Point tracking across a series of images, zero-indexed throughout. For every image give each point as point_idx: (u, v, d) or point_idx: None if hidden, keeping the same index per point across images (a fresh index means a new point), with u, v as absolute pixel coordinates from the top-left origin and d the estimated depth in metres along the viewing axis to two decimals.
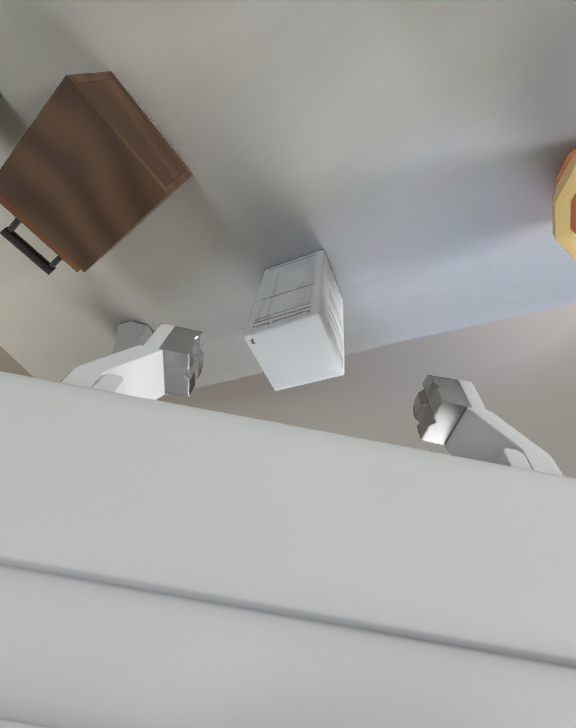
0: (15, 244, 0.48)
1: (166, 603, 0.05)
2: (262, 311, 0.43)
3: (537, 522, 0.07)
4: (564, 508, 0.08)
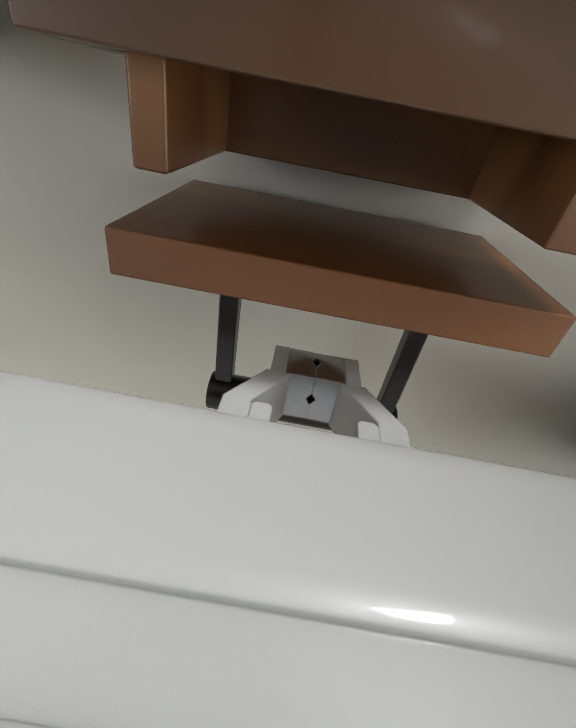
0: None
1: (165, 604, 0.05)
2: None
3: (537, 522, 0.07)
4: (564, 508, 0.08)
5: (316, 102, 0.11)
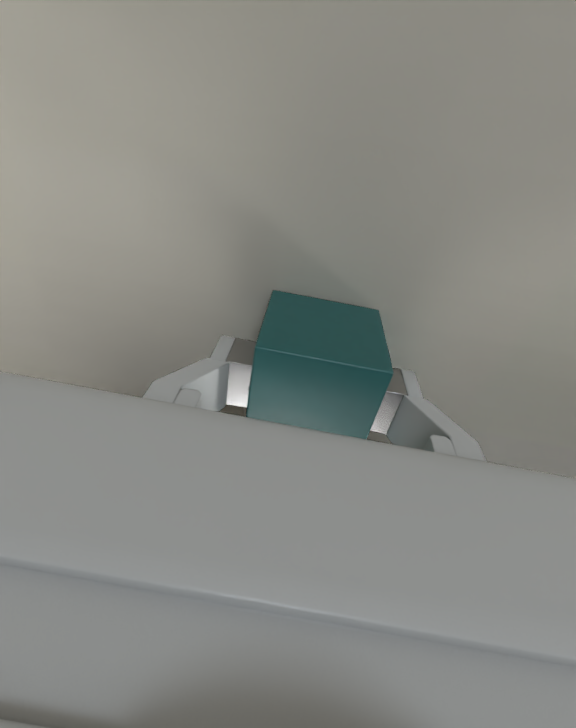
0: None
1: (166, 603, 0.05)
2: None
3: (537, 522, 0.07)
4: (564, 508, 0.08)
5: None
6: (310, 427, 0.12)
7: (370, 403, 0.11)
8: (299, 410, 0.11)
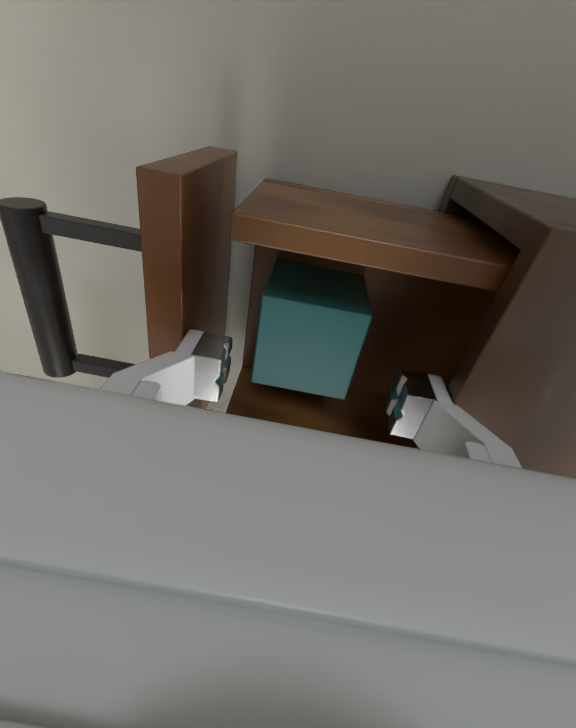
0: (22, 266, 0.13)
1: (166, 603, 0.05)
2: None
3: (537, 522, 0.07)
4: (564, 508, 0.08)
5: None
6: (306, 366, 0.14)
7: (354, 343, 0.14)
8: (297, 351, 0.14)
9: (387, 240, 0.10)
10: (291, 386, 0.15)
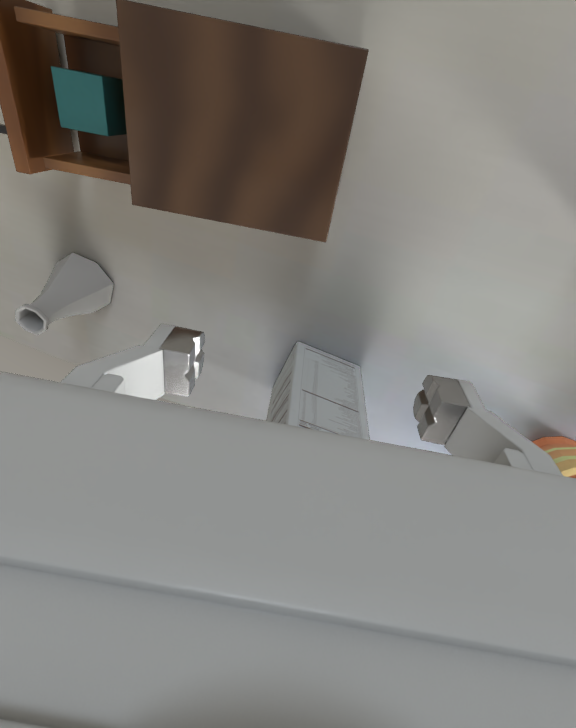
0: None
1: (166, 603, 0.05)
2: (306, 411, 0.36)
3: (537, 522, 0.07)
4: (564, 508, 0.08)
5: None
6: (83, 112, 0.29)
7: (99, 95, 0.29)
8: (76, 102, 0.29)
9: None
10: (80, 128, 0.30)
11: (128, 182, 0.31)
